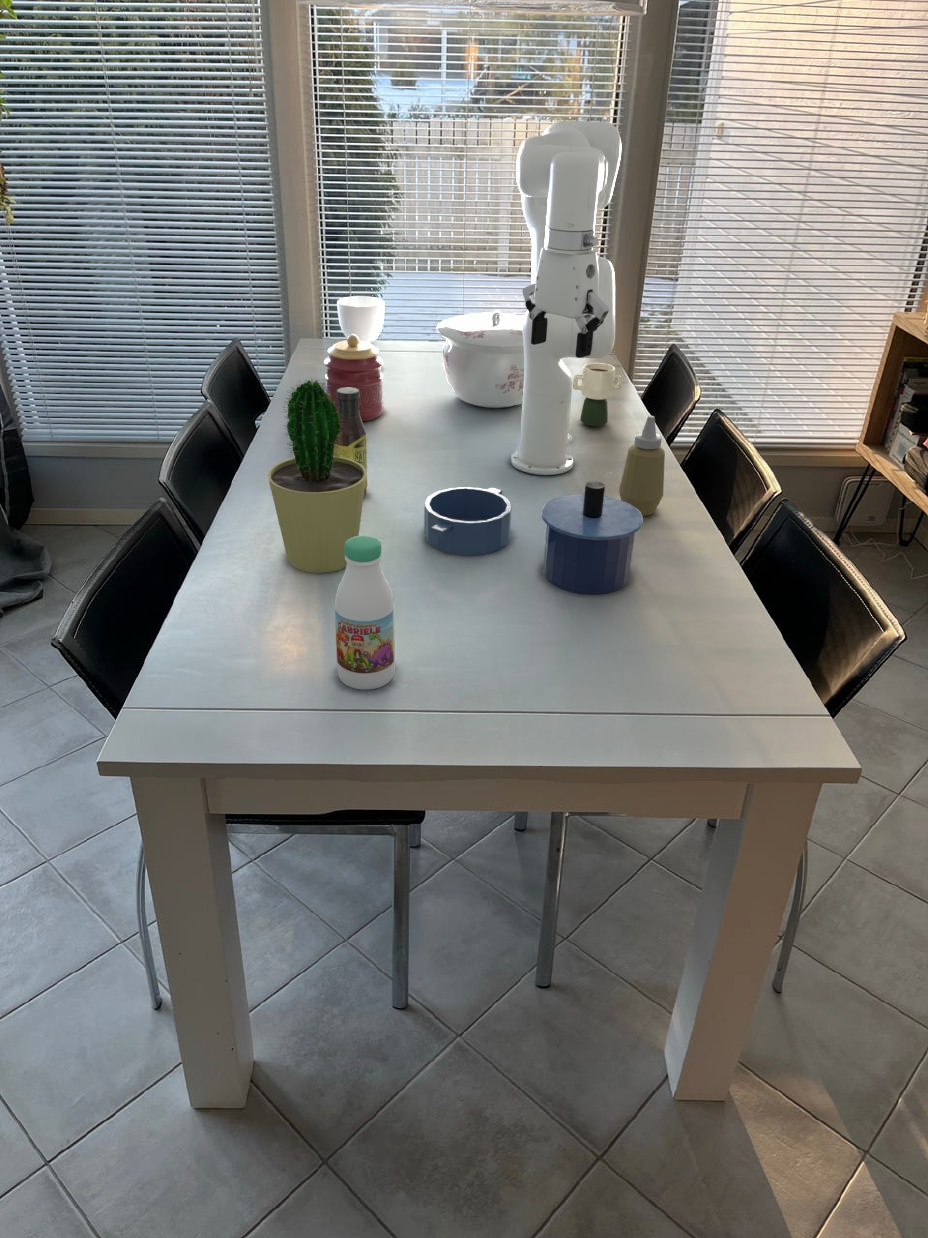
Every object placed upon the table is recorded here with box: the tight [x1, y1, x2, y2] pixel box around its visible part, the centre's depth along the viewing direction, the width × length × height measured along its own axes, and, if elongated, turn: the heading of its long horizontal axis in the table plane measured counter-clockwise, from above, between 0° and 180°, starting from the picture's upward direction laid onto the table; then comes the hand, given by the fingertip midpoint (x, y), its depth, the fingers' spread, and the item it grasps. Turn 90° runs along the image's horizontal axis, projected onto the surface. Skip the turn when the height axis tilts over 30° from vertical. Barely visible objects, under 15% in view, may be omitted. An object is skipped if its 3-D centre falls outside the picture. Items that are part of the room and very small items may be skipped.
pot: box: [542, 524, 636, 595], centre depth 154 cm, size 14×14×10 cm
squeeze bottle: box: [618, 414, 666, 517], centre depth 174 cm, size 8×8×18 cm
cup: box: [336, 295, 385, 344], centre depth 243 cm, size 12×12×17 cm
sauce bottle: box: [333, 387, 368, 497], centre depth 176 cm, size 7×6×20 cm
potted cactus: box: [267, 378, 368, 574], centre depth 151 cm, size 15×15×30 cm
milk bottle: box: [334, 535, 396, 691], centre depth 125 cm, size 8×8×20 cm
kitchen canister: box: [323, 335, 385, 422], centre depth 215 cm, size 13×13×18 cm
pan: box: [423, 486, 513, 556], centre depth 166 cm, size 15×20×6 cm
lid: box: [541, 480, 644, 540], centre depth 150 cm, size 16×16×6 cm
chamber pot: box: [435, 310, 525, 409], centre depth 225 cm, size 28×28×21 cm
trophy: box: [572, 362, 623, 427], centre depth 214 cm, size 11×7×13 cm, turn 95°
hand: (560, 349), depth 159 cm, fingers open, 9 cm apart
